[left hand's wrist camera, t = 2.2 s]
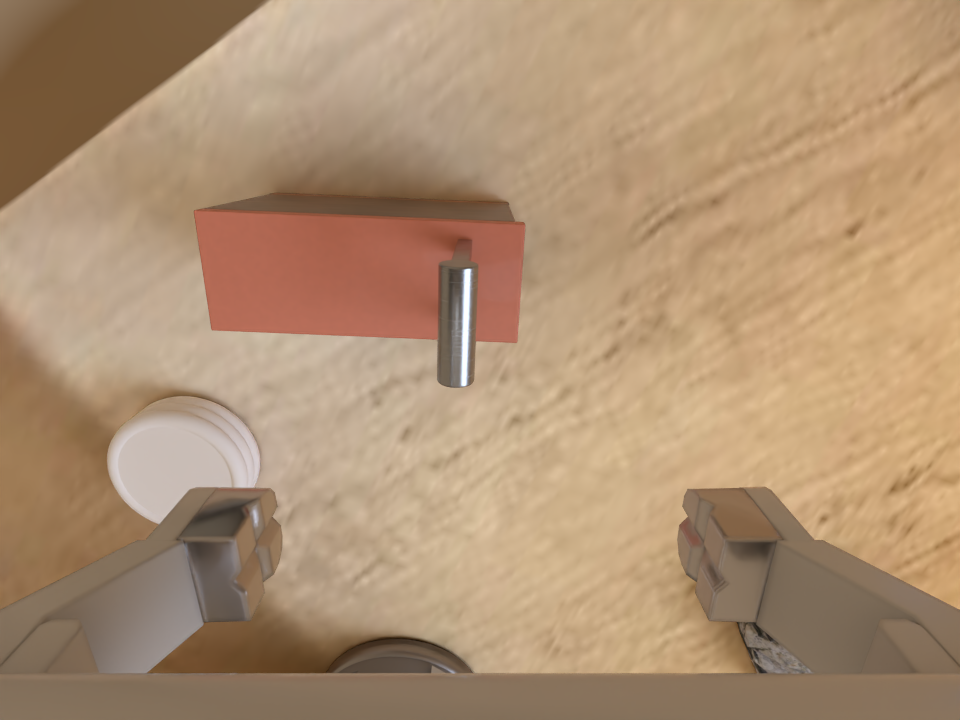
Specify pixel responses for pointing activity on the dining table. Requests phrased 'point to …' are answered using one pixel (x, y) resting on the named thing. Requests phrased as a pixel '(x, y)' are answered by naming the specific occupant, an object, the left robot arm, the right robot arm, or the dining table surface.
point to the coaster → (180, 454)
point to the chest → (374, 206)
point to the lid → (365, 278)
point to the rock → (768, 651)
